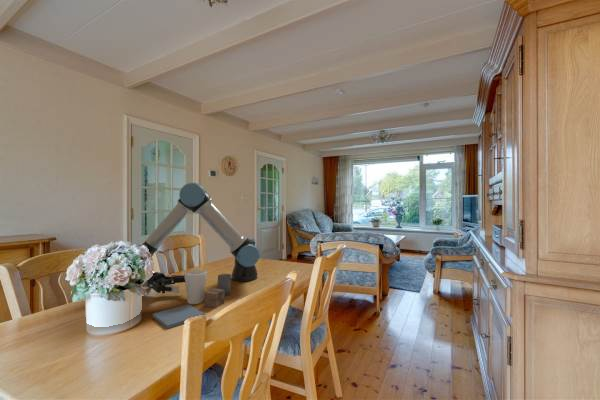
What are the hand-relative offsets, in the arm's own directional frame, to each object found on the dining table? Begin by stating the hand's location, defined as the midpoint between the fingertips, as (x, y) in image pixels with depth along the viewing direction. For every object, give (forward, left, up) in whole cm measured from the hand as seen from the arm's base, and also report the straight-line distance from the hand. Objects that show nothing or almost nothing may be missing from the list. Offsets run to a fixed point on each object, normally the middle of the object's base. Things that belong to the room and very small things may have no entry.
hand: (190, 285), depth 121 cm
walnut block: (-6, +11, -7) cm, 15 cm away
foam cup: (-1, +2, -7) cm, 8 cm away
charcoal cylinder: (-16, +2, -7) cm, 18 cm away
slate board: (+11, +13, -7) cm, 18 cm away
